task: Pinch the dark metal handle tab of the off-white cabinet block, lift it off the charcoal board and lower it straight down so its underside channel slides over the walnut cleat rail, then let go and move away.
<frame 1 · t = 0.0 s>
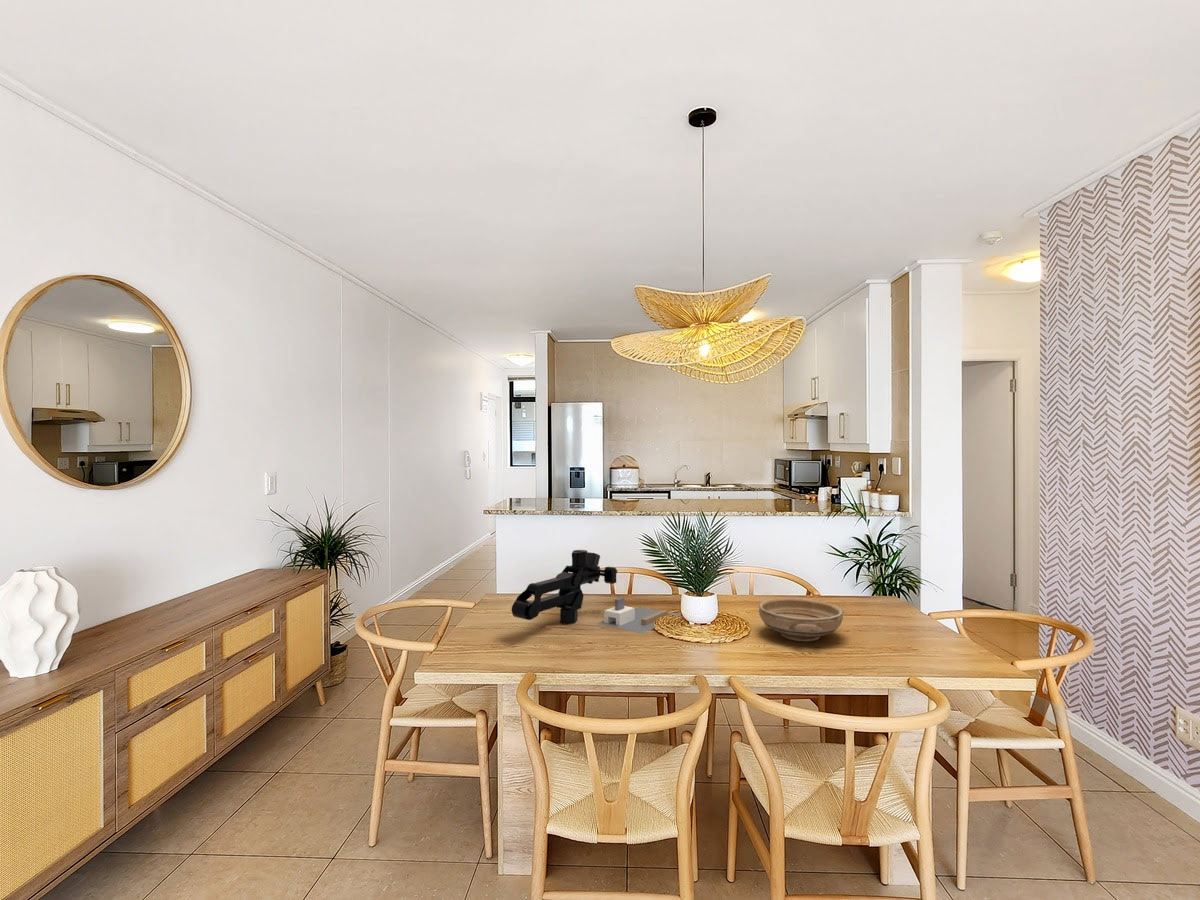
hand: (607, 569, 251), 17 cm above the table, tool horizontal, fingers open, 9 cm apart
ceramic bowl: (800, 636, 216), on the table
cabinet block: (619, 621, 232), point 1 cm above the table, touching cleat board
cleat board: (640, 621, 234), on the table
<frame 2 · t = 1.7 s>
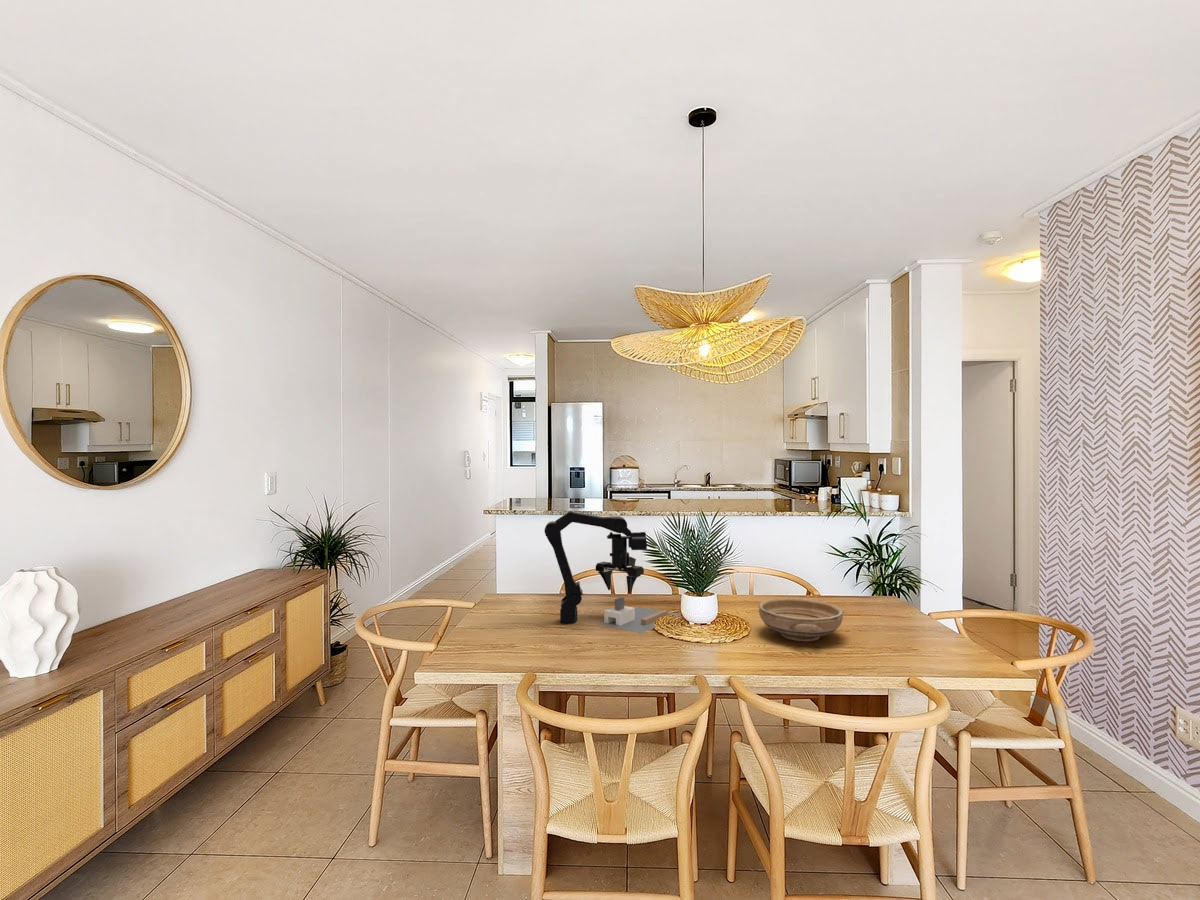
hand: (619, 591, 232), 12 cm above the table, tool pointing down, fingers open, 9 cm apart
nothing on the table moved.
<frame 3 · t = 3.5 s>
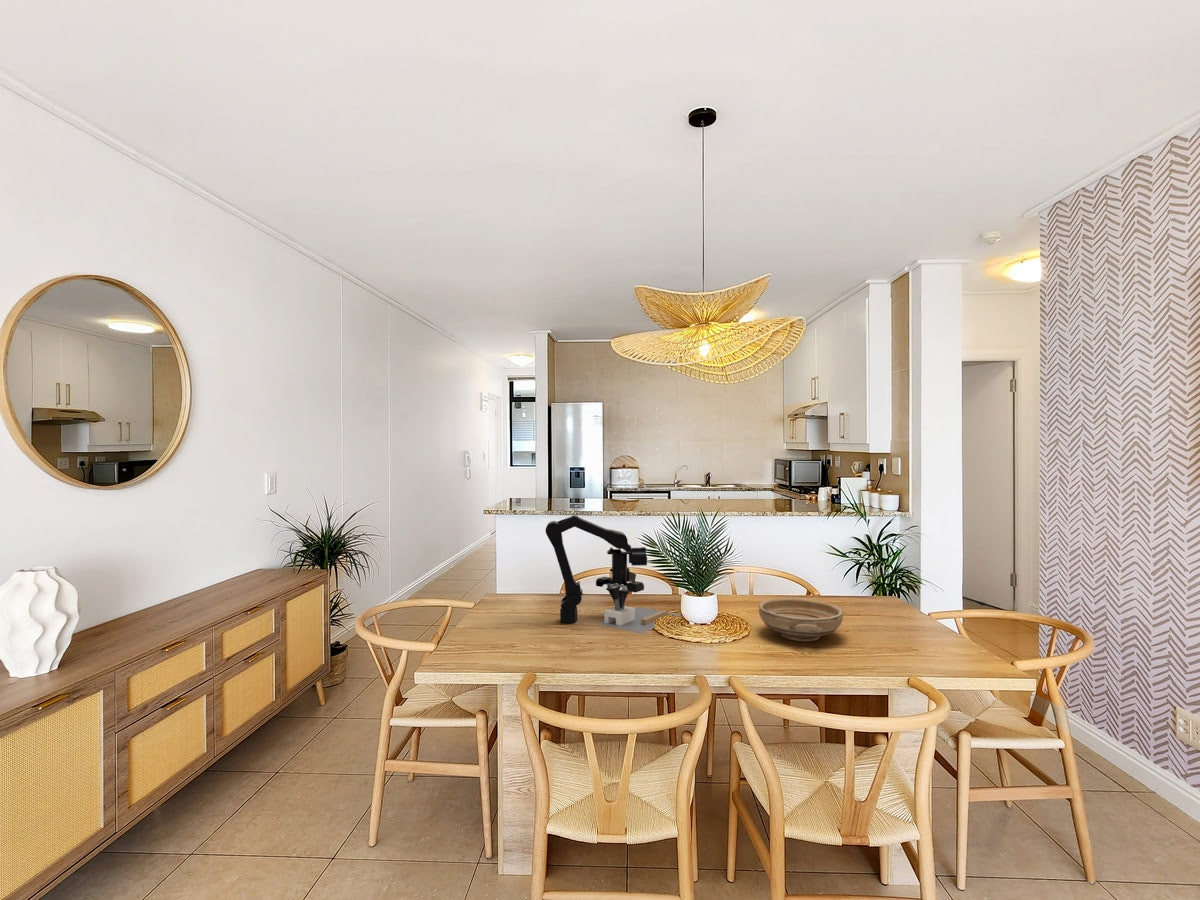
hand: (619, 607, 232), 6 cm above the table, tool pointing down, fingers closed on cabinet block
cabinet block: (619, 621, 232), point 1 cm above the table, touching cleat board, gripper
everything else where it was.
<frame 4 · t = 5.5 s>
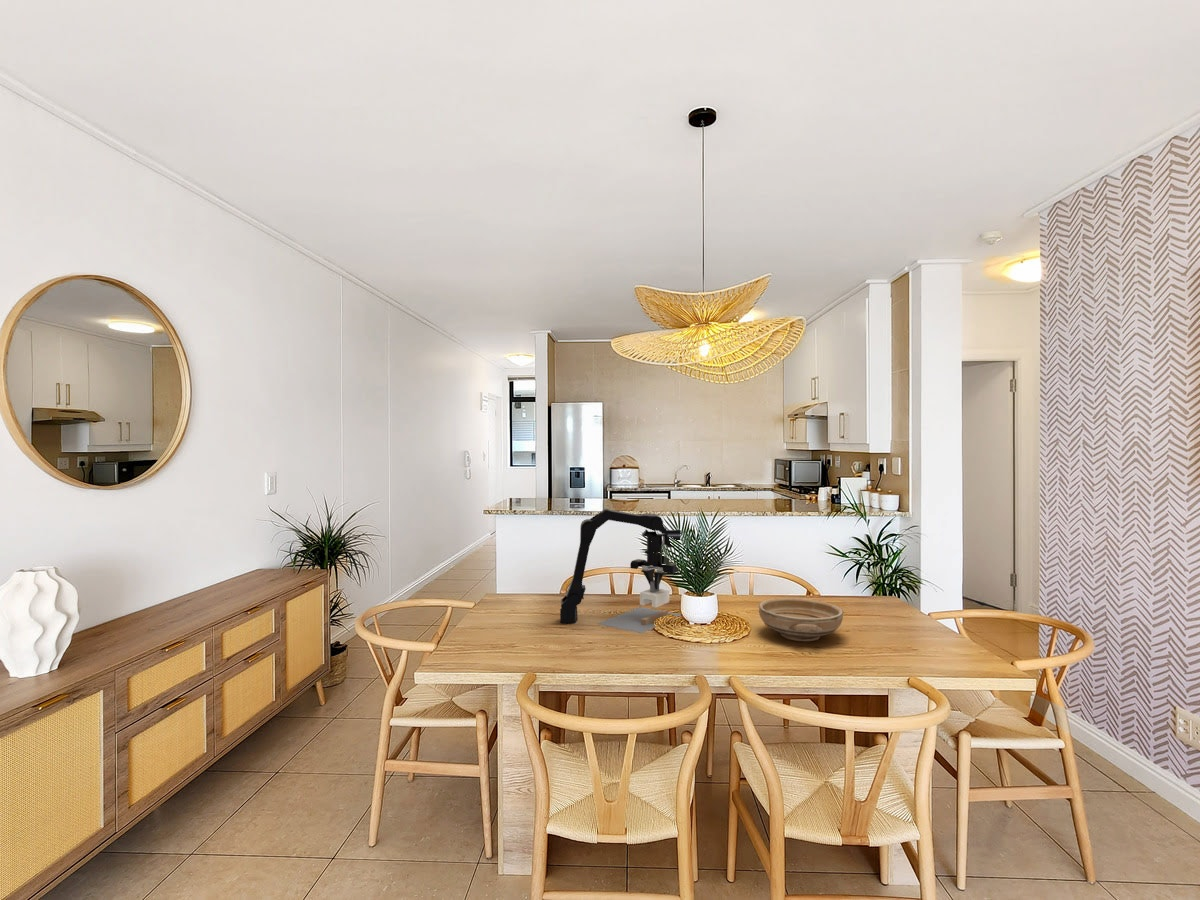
hand: (654, 588, 233), 13 cm above the table, tool pointing down, fingers closed on cabinet block
cabinet block: (654, 603, 233), point 7 cm above the table, touching gripper
everything else where it was.
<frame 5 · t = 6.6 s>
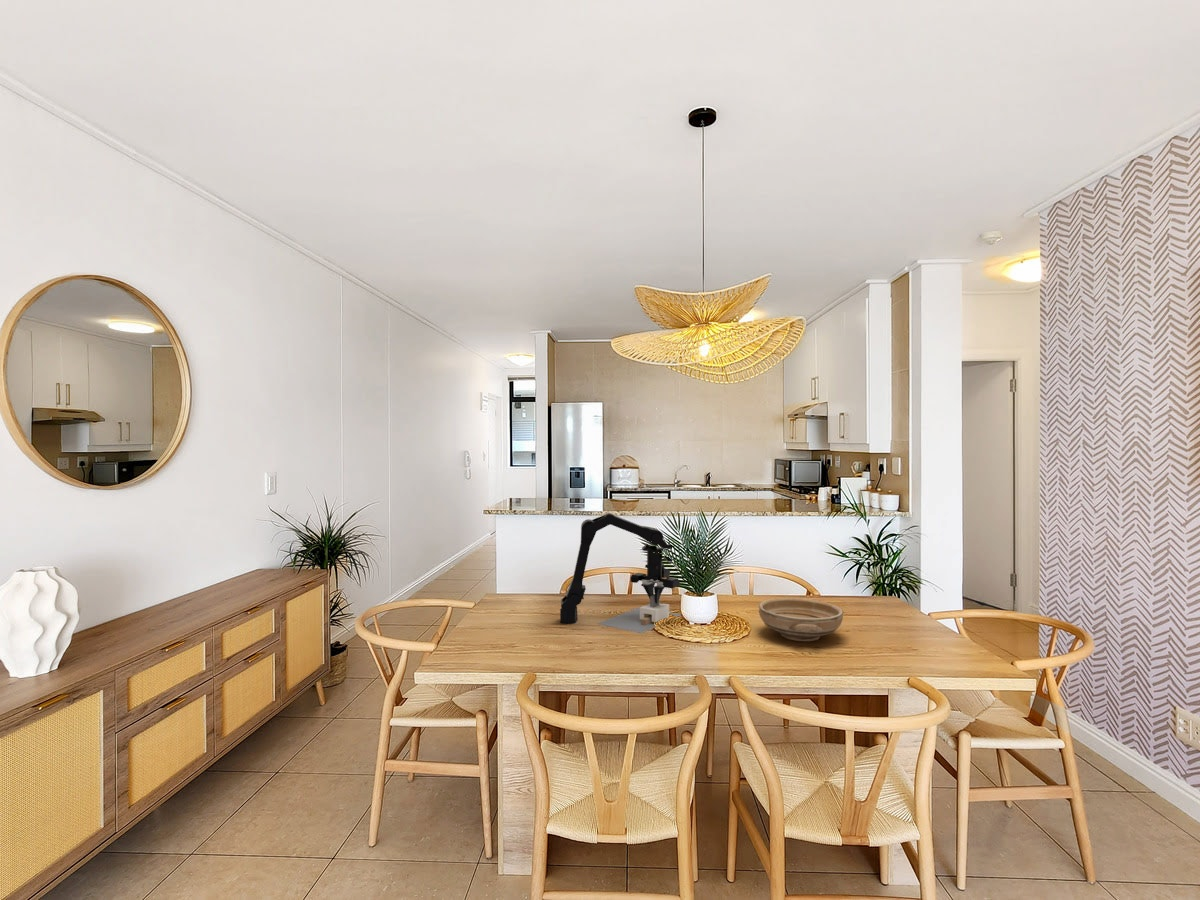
hand: (654, 603, 233), 7 cm above the table, tool pointing down, fingers closed on cabinet block
cabinet block: (654, 617, 233), point 2 cm above the table, touching gripper
everything else where it was.
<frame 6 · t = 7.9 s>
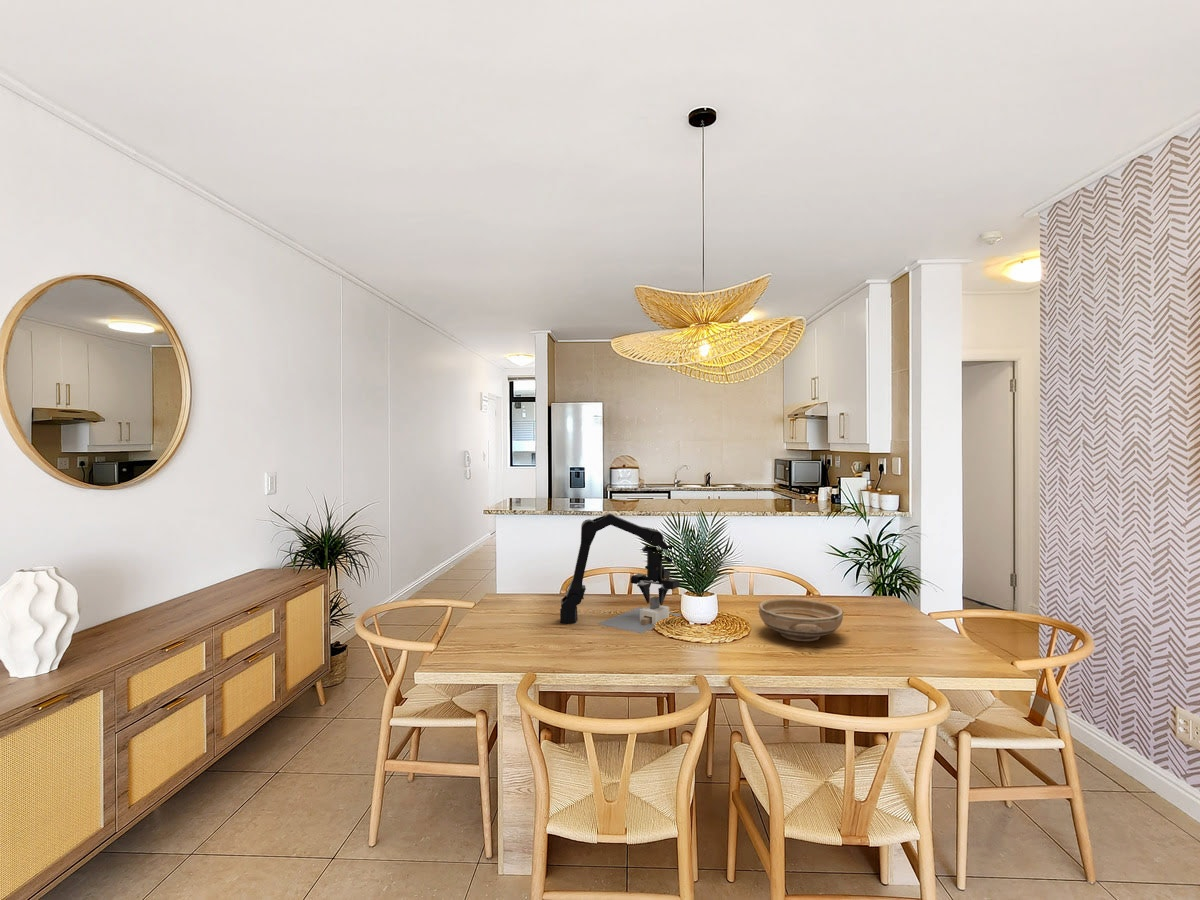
hand: (654, 604, 233), 7 cm above the table, tool pointing down, fingers open, 5 cm apart
cabinet block: (654, 620, 233), point 1 cm above the table, touching cleat board
everything else where it was.
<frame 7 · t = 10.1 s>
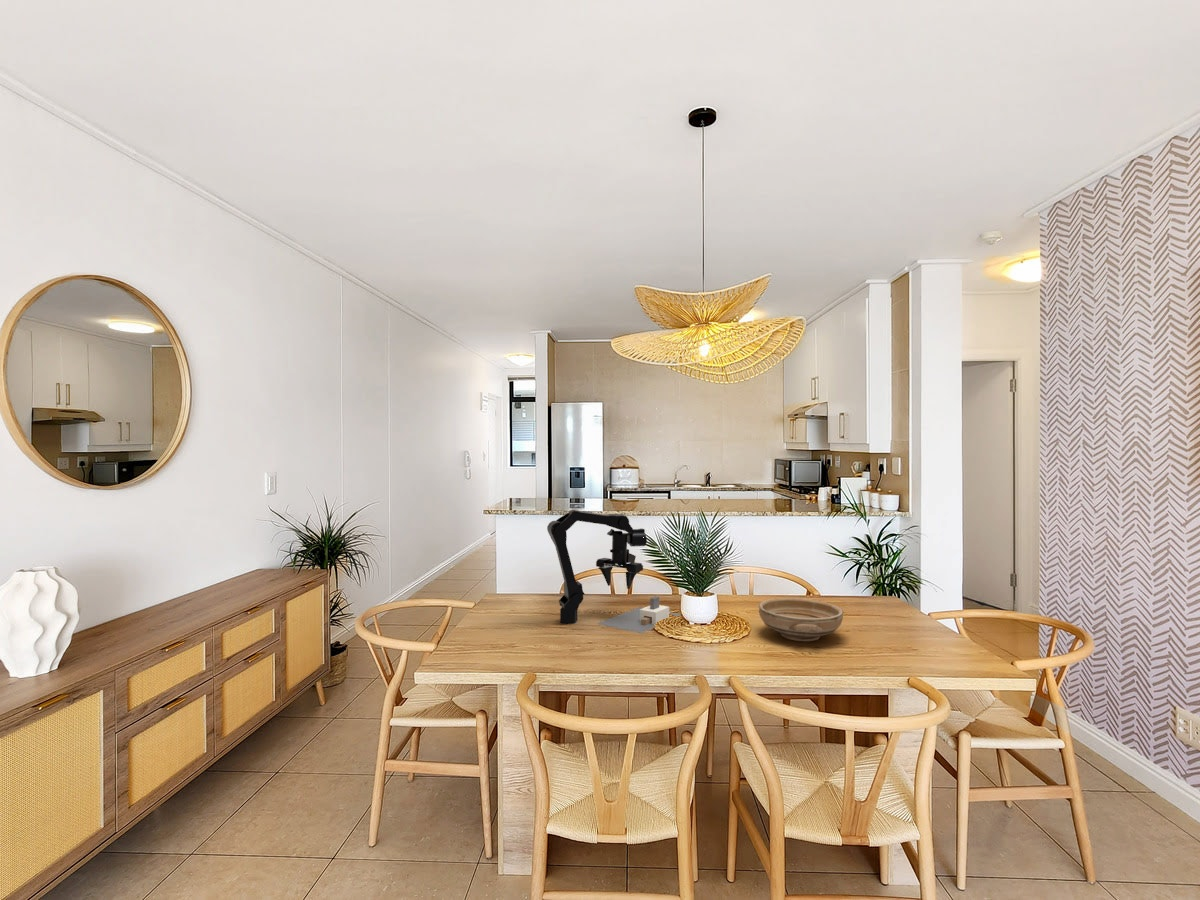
hand: (618, 587, 237), 13 cm above the table, tool pointing down, fingers open, 9 cm apart
nothing on the table moved.
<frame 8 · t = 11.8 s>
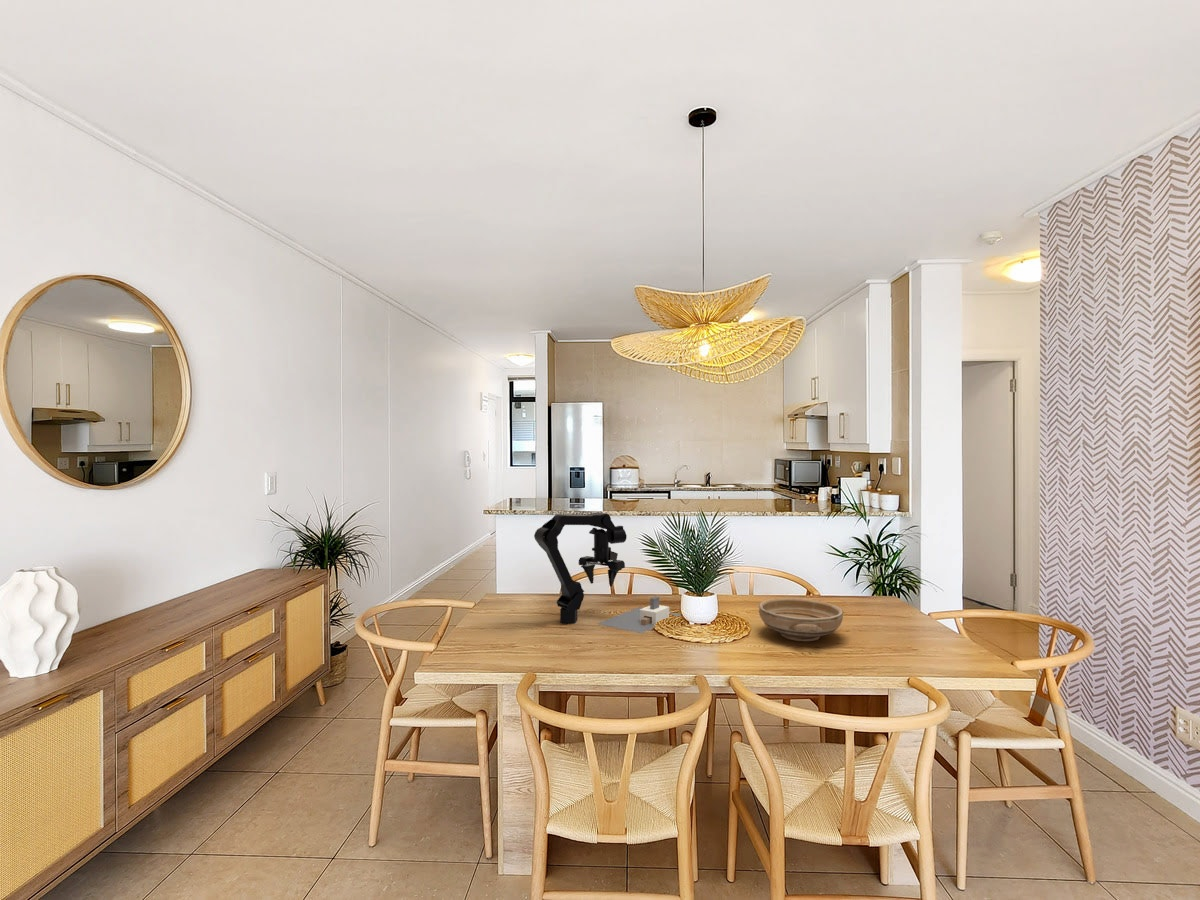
hand: (601, 584, 239), 13 cm above the table, tool pointing down, fingers open, 9 cm apart
nothing on the table moved.
at the end: cabinet block 0.1 cm from the target spot, point 1.0 cm above the table; cabinet block tilted 0°; the gripper is holding nothing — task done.
